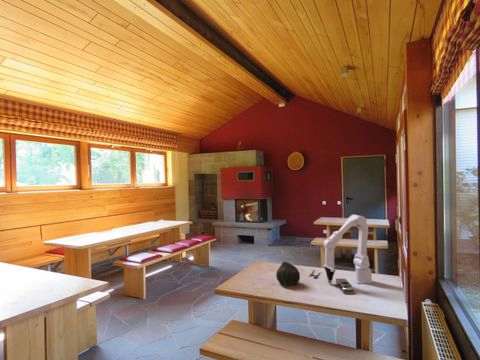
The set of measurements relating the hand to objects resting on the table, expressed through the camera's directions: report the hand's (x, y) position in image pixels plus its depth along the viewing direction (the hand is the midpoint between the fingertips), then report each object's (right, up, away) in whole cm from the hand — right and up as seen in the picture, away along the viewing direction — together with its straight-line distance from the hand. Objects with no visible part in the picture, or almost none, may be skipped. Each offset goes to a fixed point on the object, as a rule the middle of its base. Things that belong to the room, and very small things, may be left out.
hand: (329, 279), depth 193 cm
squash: (-27, -4, +1) cm, 27 cm away
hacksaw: (-5, -4, +23) cm, 24 cm away
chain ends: (+7, -3, -9) cm, 11 cm away
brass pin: (0, -2, 0) cm, 2 cm away
